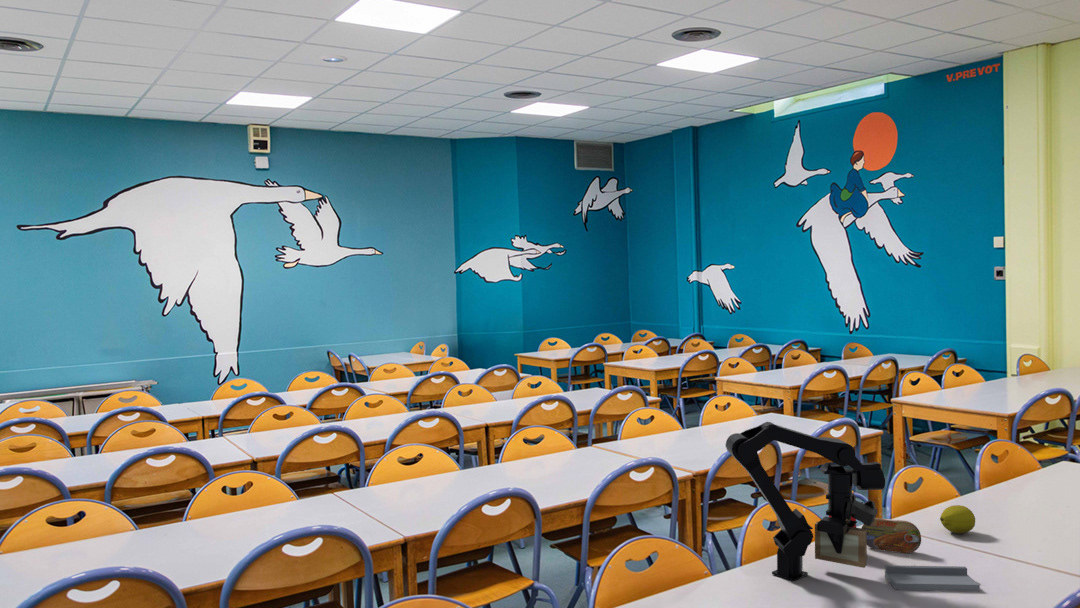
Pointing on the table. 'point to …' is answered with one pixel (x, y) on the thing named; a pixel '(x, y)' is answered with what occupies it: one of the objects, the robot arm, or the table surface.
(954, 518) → the lemon
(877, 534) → the tin
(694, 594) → the table surface
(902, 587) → the ledge
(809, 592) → the table surface
